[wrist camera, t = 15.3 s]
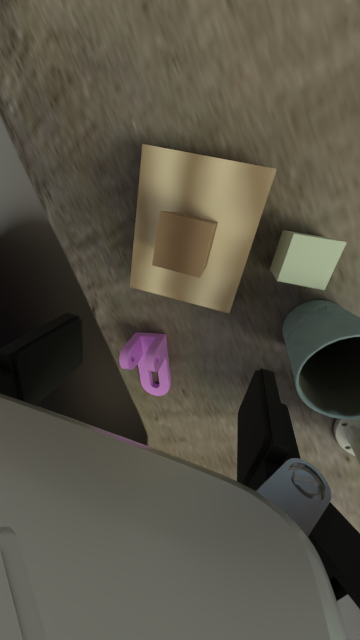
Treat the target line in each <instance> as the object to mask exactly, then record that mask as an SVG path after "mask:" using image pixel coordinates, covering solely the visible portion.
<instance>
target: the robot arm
mask: <svg viewBox="0 0 360 640" xmlns="http://www.w3.org/2000/svg"><path fill="white" fill-rule="evenodd" d="M82 352H83V351H82V321H81V320H80V318H79V316H77V315H74V314H70V313H66V314H64V315H62V316H60V317H58V318H56V319H54V320H53V321H51V322H49V323H47V324H45V325H43V326H41V327H40V328H38V329H36V330H34V331H32V332H30V333H29V334H27V335H25V336H23V337H21V338H19V339H17V340H15V341H14V342H12V343H10V344H8V345H6V346H5V347H3V348H1V349H0V640H360V534H359V532H358V531H357V530H356V529H355V528H354V527H353V526H352V525H351V524H350V523H349V522H348V521H347V520H346V519H345V518H344V517H343V515H342V514H341V513H340V512H339V511H338V510H337V509H336V508H335V507H334V506H333V505H332V504H331V503H330V501H331V489H330V487H329V485H328V482H327V481H326V479H325V478H324V476H323V475H322V474H321V473H320V472H319V470H318V469H317V468H315V467H314V466H313V465H311V464H310V463H308V462H307V461H305V460H302V459H300V455H299V451H298V447H297V443H296V439H295V435H294V431H293V427H292V423H291V419H290V415H289V411H288V408H287V406H286V405H285V404H282V403H281V402H280V398H279V393H278V389H277V384H276V380H275V375H274V372H272V371H269V370H265V369H262V368H261V369H260V371H258V370H256V371H255V373H254V375H253V377H252V380H251V382H250V385H249V387H248V390H247V392H246V394H245V397H244V399H243V402H242V404H241V406H240V409H239V412H238V451H237V481H235V480H233V479H231V478H228V477H226V476H224V475H222V474H219V473H217V472H214V471H212V470H209V469H207V468H204V467H201V466H199V465H196V464H194V463H191V462H189V461H186V460H183V459H181V458H178V457H175V456H173V455H170V454H167V453H165V452H162V451H159V450H156V449H154V448H151V447H148V446H146V445H143V444H140V443H137V442H135V441H132V440H129V439H126V438H124V437H121V436H118V435H115V434H113V433H110V432H107V431H105V430H102V429H99V428H96V427H93V426H91V425H88V424H85V423H82V422H79V421H76V420H74V419H71V418H69V417H66V416H63V415H60V414H57V413H55V412H51V411H49V410H46V409H43V408H40V407H38V406H36V405H37V404H38V403H40V402H41V401H42V400H43V399H44V398H45V397H46V396H47V395H48V394H49V393H51V392H52V391H53V390H54V389H55V388H56V387H57V386H58V385H59V384H60V383H62V382H63V381H64V380H65V379H66V378H67V377H68V376H69V375H70V374H71V373H72V372H73V371H75V370H76V369H77V368H78V367H79V366H80V365H81V363H82V360H83V353H82ZM333 430H334V435H335V438H336V440H337V442H338V443H339V445H340V446H341V447H342V448H343V449H344V450H345V451H347V452H348V453H350V454H352V455H354V456H356V458H357V460H358V462H359V464H360V419H353V420H350V419H338V418H337V420H336V422H335V424H334V429H333Z"/></svg>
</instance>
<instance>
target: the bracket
mask: <svg viewBox="0 0 360 640" xmlns="http://www.w3.org/2000/svg"><path fill="white" fill-rule="evenodd" d="M119 362H120V366H121V368H122V369H130V370H133V369H134V368H135V366H136V365H137V363H138V368H139V374H140V379H141V384H142V387H143V388H144V389H145V390H146V391H147V392H148V393H150V394H152V395H155V396H162V395H165V394H166V393H167V392H168V391H169V388H170V385H171V377H170V367H169V358H168V348H167V339H166V334H159V333H138V332H136V333H135V334H134V335H133V336H132V337H131V338H130V340H129V341H128V342H127V343H126V344H125V346H124V347H123V348H122V350H121V352H120V357H119ZM151 371H152V372H158V376H159V384H156V383H154V382H153V380H152V373H151Z"/></svg>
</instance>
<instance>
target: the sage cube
mask: <svg viewBox="0 0 360 640" xmlns="http://www.w3.org/2000/svg"><path fill="white" fill-rule="evenodd" d="M346 243H347V242H343V241H339V240H335V239H331V238H327V237H322V236H316V235H310V234H304V233H298V232H292V231H286V230H283V231H282V234H281V237H280V240H279V243H278V246H277V249H276V252H275V255H274V258H273V261H272V264H271V267H270V271H271V272H272V274H273V275H274V277H275V278H276V280H277V281H280V282H285V283H290V284H295V285H300V286H305V287H310V288H315V289H320V290H325V288H326V286H327V284H328V282H329V279H330V277H331V275H332V273H333V271H334V269H335V267H336V264H337V262H338V260H339V258H340V256H341V254H342V251H343V249H344V247H345V245H346Z"/></svg>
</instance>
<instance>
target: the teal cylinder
mask: <svg viewBox="0 0 360 640" xmlns="http://www.w3.org/2000/svg"><path fill="white" fill-rule="evenodd" d="M282 332H283V337H284V341H285V345H286V349H287V353H288V357H289V360H290V363H291V368H292V373H293V377H294V382H295V386H296V390H297V393H298V395H299V397H300V398H301V400H302V401H303V402H304V403H305V404H306V405H307V406H309V407H310V408H311V409H313V410H314V411H316V412H318V413H320V414H323V415H325V416H328V417H332V418H338V419H350V420H353V419H360V318H359V317H357V316H356V315H354V314H352V313H350V312H349V311H347V310H345V309H344V308H342V307H341V306H339V305H337V304H335V303H333V302H330V301H325V300H314V301H308V302H305V303H303V304H301V305H299V306H297V307H296V308H294V309H293V310H292V311H291V312H290V313H289V314H288V315H287V317H286V319H285V321H284V323H283V328H282Z"/></svg>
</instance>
